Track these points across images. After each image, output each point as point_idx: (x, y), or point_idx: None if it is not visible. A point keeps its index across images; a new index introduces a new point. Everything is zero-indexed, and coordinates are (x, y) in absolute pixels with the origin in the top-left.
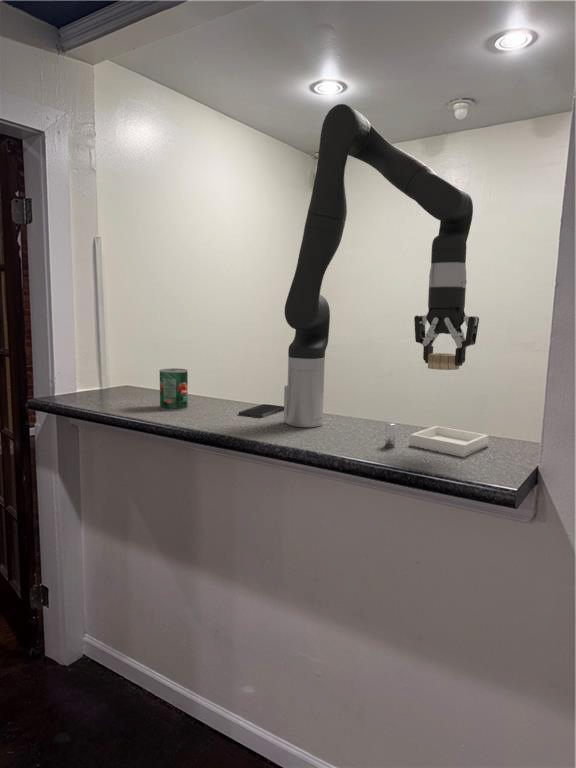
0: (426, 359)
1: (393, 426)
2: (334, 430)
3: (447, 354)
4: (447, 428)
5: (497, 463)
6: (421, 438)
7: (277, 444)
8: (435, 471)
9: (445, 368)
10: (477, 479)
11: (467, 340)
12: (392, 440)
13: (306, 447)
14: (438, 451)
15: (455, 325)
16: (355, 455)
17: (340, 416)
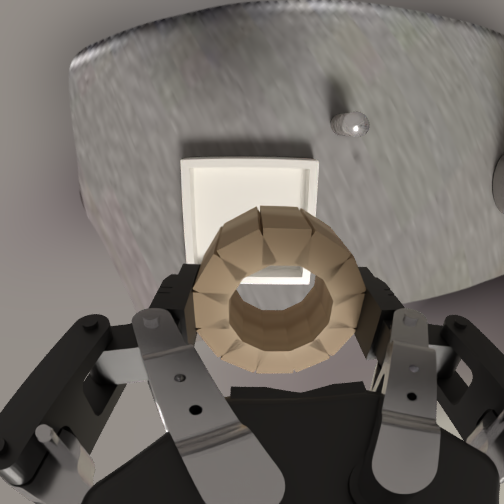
0: (362, 271)
1: (345, 116)
2: (468, 173)
3: (278, 349)
4: (280, 278)
5: (127, 168)
6: (288, 159)
7: (468, 28)
8: (185, 35)
9: (232, 219)
10: (116, 56)
11: (87, 334)
12: (336, 117)
13: (434, 30)
14: (243, 156)
15: (160, 446)
16: (350, 24)
17: (486, 279)
